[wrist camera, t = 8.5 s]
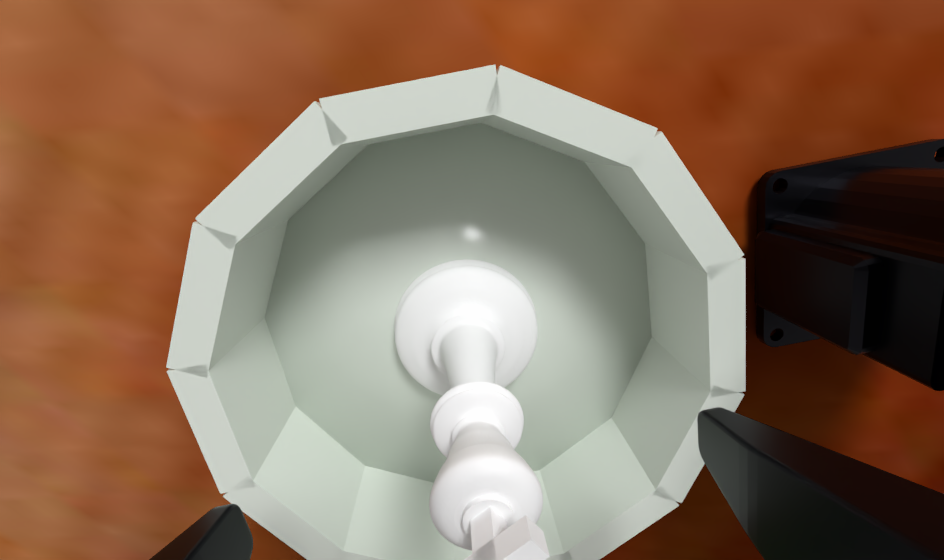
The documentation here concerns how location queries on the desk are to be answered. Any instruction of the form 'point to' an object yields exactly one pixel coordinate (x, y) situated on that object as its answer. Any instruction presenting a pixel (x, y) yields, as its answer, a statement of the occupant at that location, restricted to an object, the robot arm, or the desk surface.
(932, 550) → the robot arm
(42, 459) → the desk surface
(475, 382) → the chess piece
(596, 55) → the desk surface
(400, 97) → the bowl
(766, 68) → the desk surface
